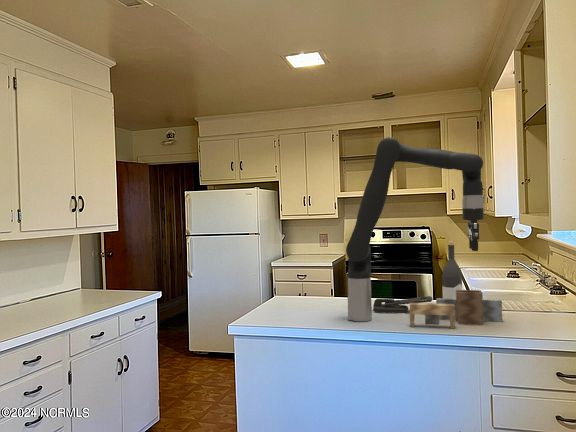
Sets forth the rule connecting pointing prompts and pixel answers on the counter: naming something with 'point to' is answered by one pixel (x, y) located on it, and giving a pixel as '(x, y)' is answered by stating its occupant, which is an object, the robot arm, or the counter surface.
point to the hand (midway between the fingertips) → (473, 249)
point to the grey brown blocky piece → (473, 307)
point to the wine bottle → (451, 275)
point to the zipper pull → (397, 304)
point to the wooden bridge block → (432, 312)
